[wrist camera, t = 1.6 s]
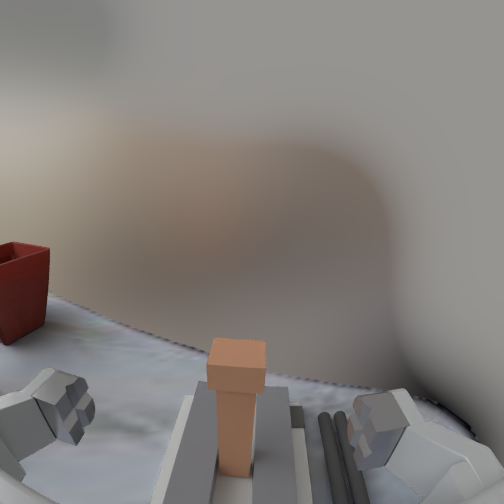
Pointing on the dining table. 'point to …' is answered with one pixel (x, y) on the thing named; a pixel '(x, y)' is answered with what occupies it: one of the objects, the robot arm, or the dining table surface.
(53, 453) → the dining table surface
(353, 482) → the twin grey rods
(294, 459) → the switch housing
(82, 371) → the dining table surface
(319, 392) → the dining table surface
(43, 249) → the plant pot
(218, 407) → the breaker handle
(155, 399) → the dining table surface
